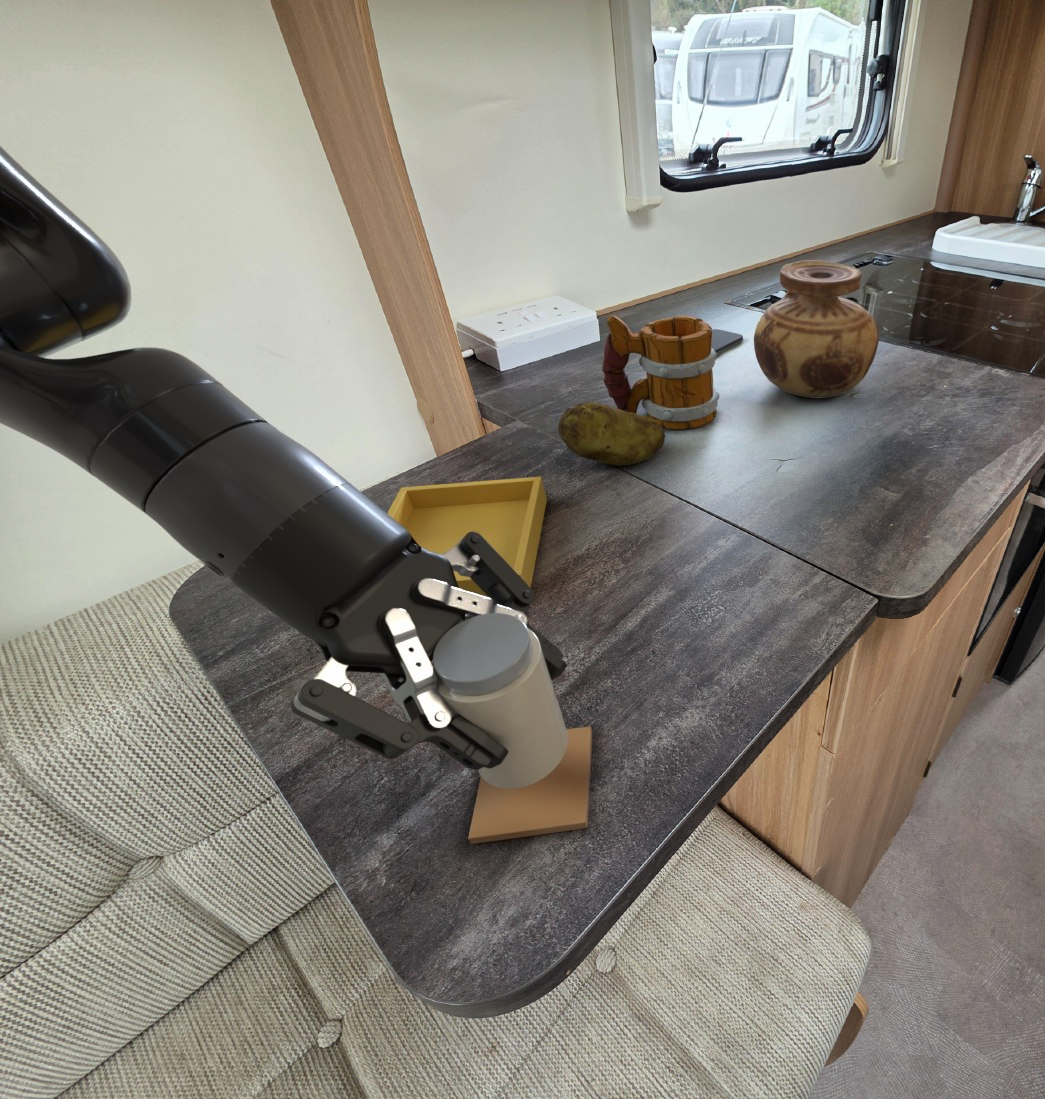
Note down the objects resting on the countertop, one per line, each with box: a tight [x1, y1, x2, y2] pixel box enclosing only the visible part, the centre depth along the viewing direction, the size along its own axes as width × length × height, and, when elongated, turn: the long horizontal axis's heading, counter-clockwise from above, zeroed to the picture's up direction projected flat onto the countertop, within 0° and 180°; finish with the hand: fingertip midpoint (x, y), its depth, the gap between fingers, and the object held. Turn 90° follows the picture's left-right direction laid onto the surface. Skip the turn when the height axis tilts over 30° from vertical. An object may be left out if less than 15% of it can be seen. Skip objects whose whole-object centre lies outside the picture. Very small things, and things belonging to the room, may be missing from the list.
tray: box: [386, 476, 548, 598], centre depth 63 cm, size 18×16×3 cm
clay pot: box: [753, 259, 880, 399], centre depth 91 cm, size 19×19×20 cm
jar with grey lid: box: [432, 613, 568, 789], centre depth 37 cm, size 6×6×10 cm
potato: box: [557, 402, 666, 467], centre depth 76 cm, size 8×13×8 cm, turn 92°
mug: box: [601, 314, 720, 431], centre depth 84 cm, size 11×16×15 cm, turn 102°
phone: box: [712, 328, 744, 354], centre depth 110 cm, size 7×1×15 cm
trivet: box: [467, 726, 593, 845], centre depth 42 cm, size 8×8×1 cm
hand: (530, 713), depth 37 cm, fingers closed on jar with grey lid, 6 cm apart
